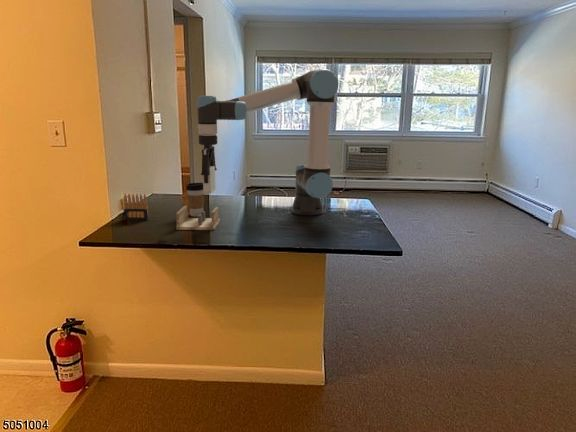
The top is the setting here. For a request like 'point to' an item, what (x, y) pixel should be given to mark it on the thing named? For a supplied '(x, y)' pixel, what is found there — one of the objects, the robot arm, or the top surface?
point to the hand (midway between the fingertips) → (209, 188)
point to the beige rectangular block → (211, 180)
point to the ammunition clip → (136, 208)
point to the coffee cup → (195, 198)
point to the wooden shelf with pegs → (196, 220)
